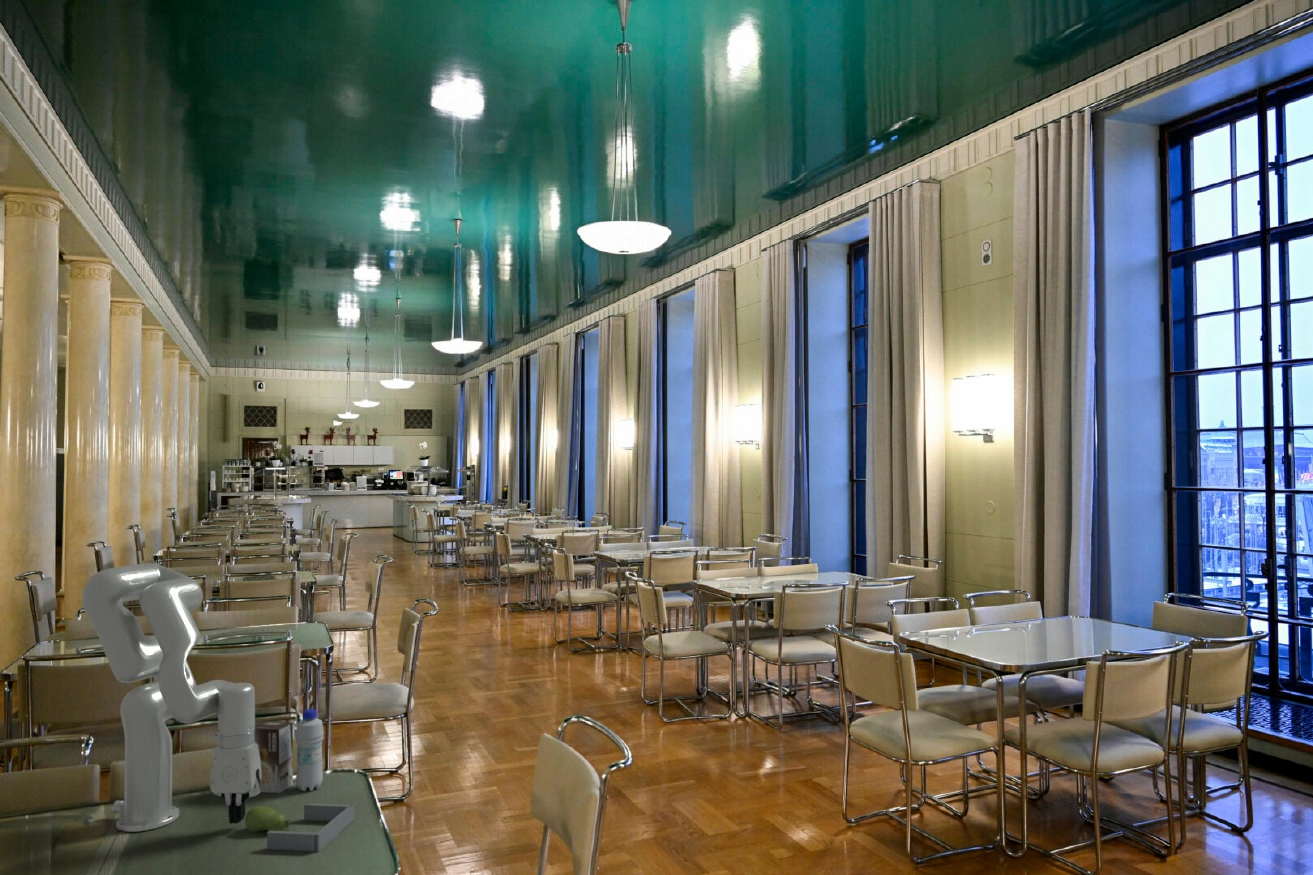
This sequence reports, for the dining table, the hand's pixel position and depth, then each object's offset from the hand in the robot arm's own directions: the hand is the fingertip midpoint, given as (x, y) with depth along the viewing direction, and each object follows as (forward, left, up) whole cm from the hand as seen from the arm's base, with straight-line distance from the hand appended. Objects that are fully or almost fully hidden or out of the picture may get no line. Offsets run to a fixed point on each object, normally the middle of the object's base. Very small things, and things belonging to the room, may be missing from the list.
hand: (236, 820), depth 192 cm
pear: (+8, 0, -2) cm, 8 cm away
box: (+19, -1, -2) cm, 19 cm away
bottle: (+4, +25, -2) cm, 25 cm away
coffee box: (-6, +24, -2) cm, 25 cm away
